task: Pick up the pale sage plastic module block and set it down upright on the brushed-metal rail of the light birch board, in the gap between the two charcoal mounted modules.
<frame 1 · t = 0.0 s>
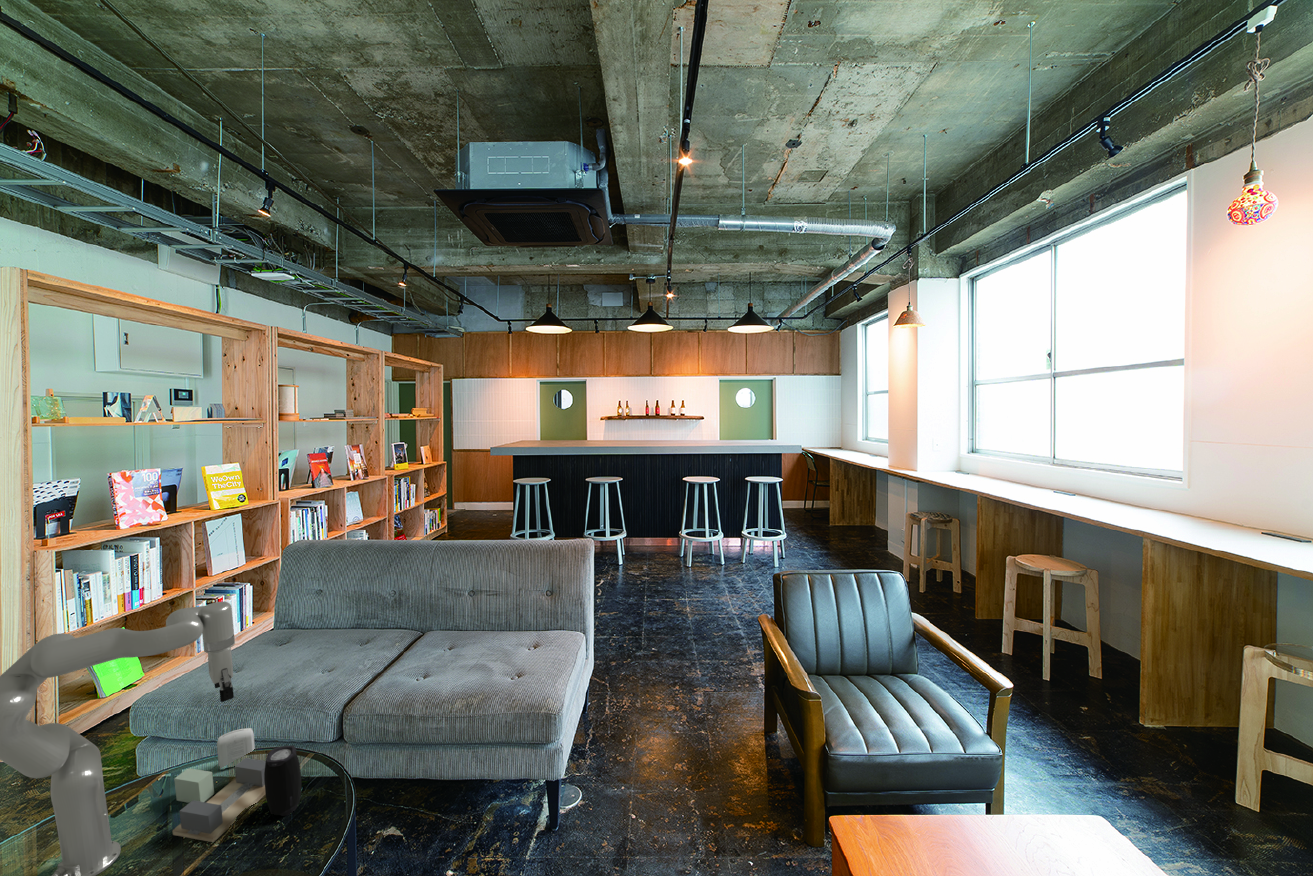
hand: (224, 693, 170), 37 cm above the table, tool pointing down, fingers open, 9 cm apart
portable speaker: (285, 808, 172), on the table
photo printer: (237, 763, 190), on the table
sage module: (195, 797, 175), on the table
rail board: (230, 805, 172), on the table
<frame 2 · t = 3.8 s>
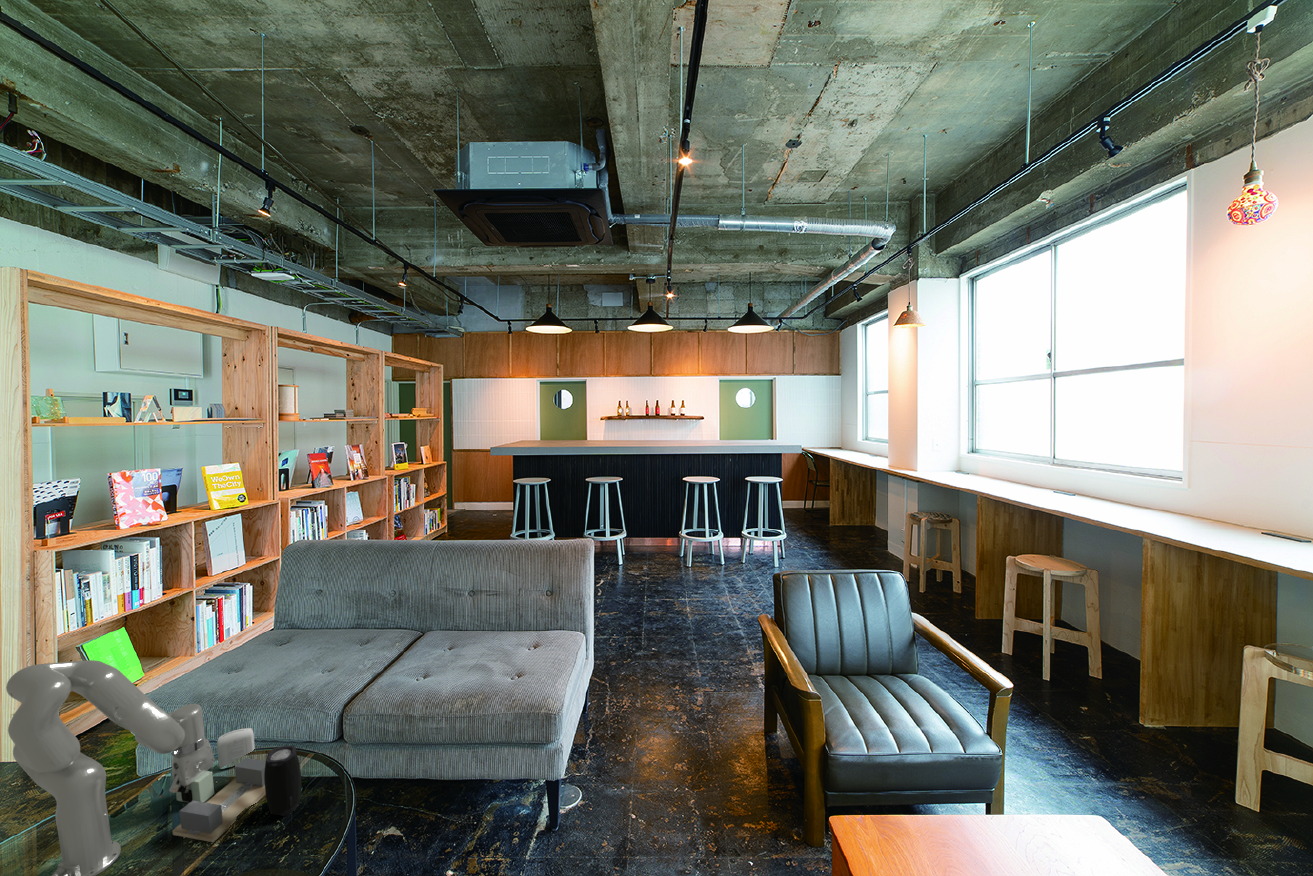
hand: (195, 794, 175), 1 cm above the table, tool pointing down, fingers closed on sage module, 4 cm apart
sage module: (195, 797, 175), on the table, touching gripper
everything else where it was.
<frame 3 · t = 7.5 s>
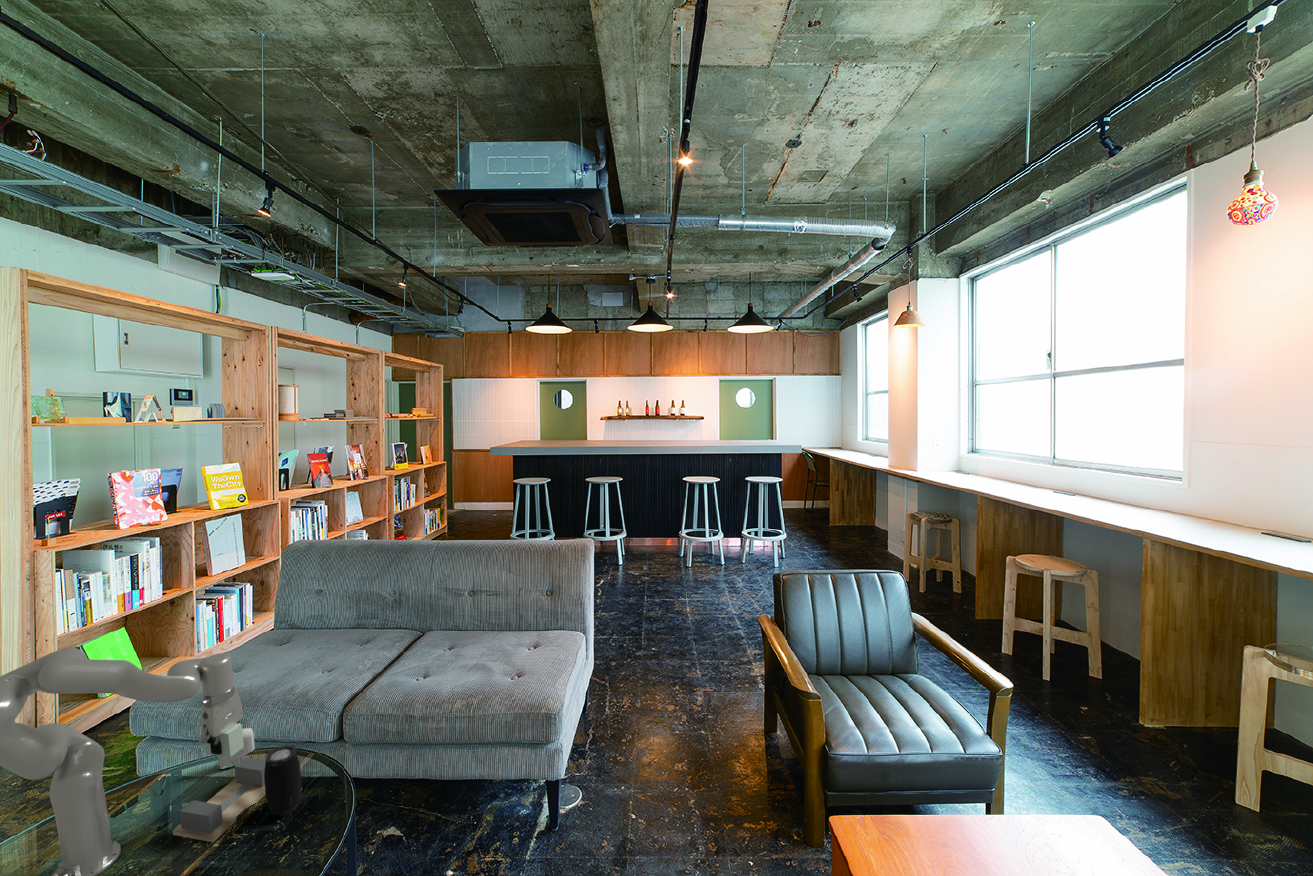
hand: (224, 747, 169), 21 cm above the table, tool pointing down, fingers closed on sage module, 4 cm apart
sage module: (224, 750, 169), point 20 cm above the table, touching gripper
everything else where it was.
when the fingers open (4 cm above the table, at t = 11.6 s): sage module drops 1 cm, resting on rail board.
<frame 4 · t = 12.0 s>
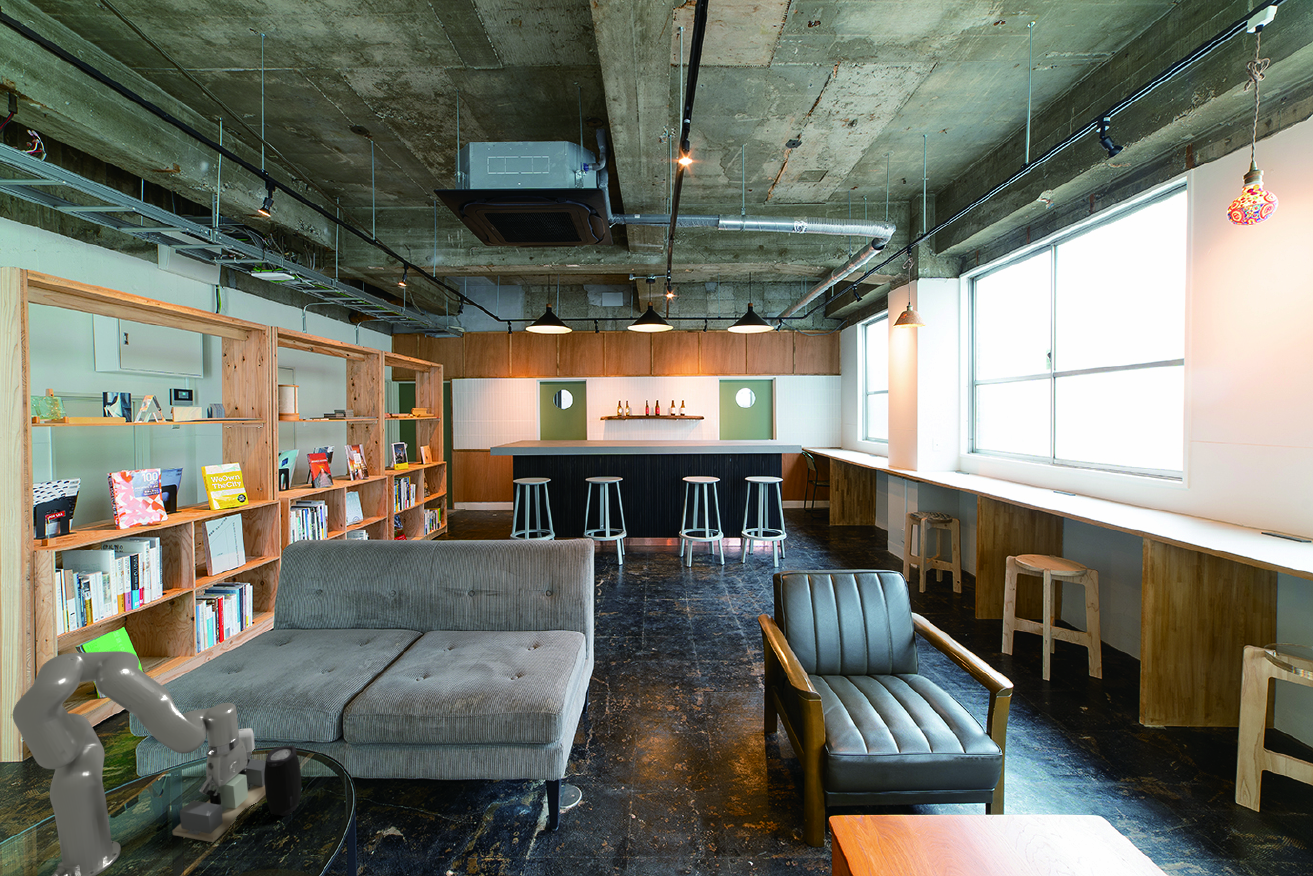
hand: (229, 793, 171), 5 cm above the table, tool pointing down, fingers open, 8 cm apart
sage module: (229, 801, 172), point 2 cm above the table, touching rail board
everything else where it was.
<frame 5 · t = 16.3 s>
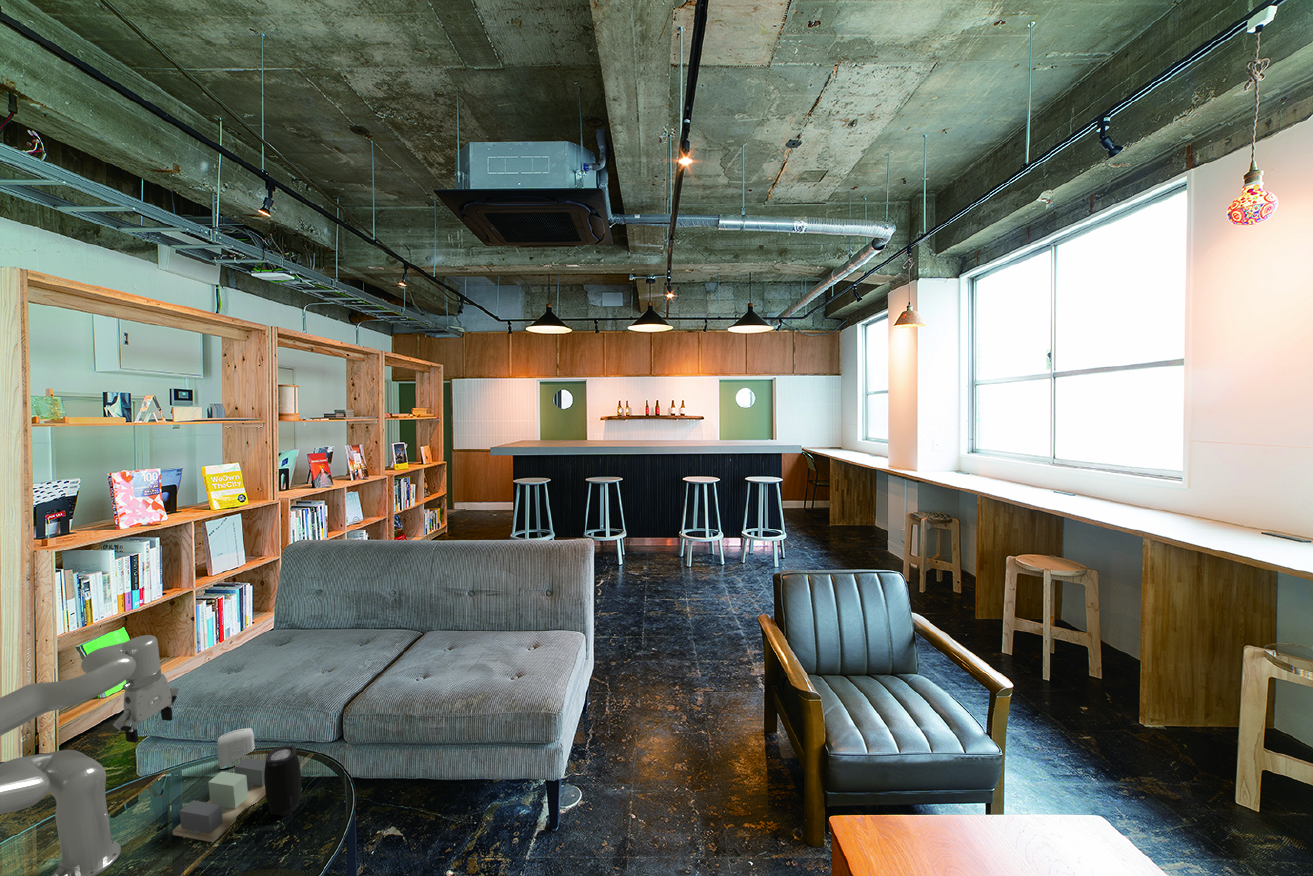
hand: (150, 730, 162), 30 cm above the table, tool pointing down, fingers open, 9 cm apart
nothing on the table moved.
at the end: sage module 0.0 cm off-centre on the rail board, point 1.8 cm above the rail board's base; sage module tilted 0°; the gripper is holding nothing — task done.
